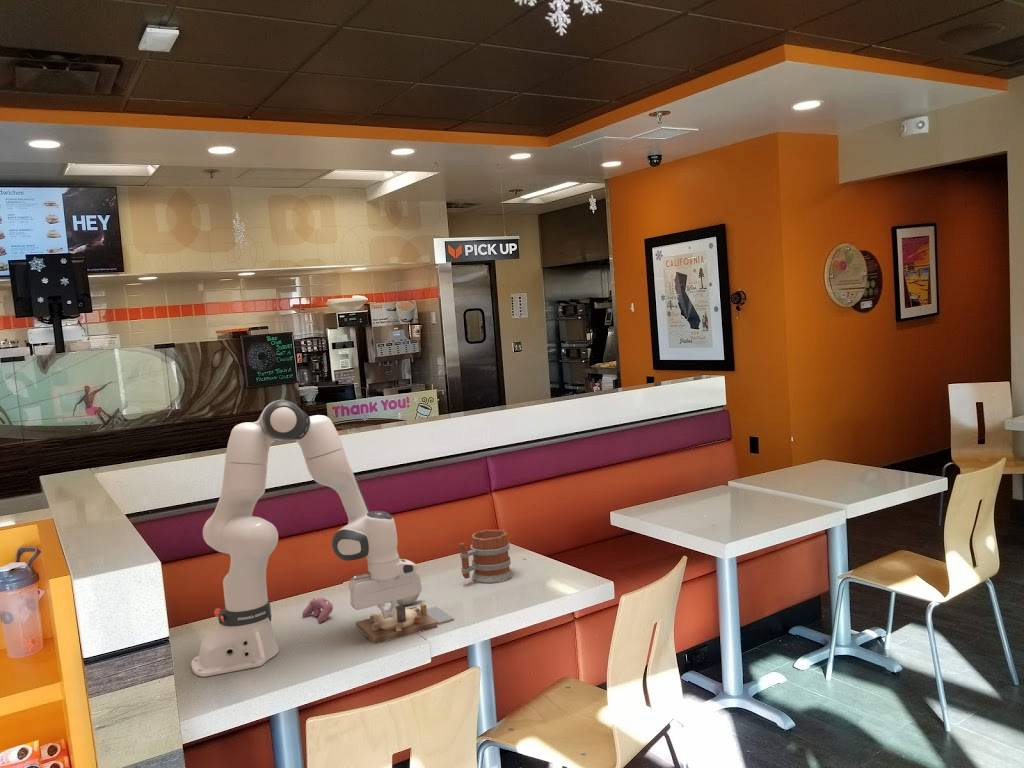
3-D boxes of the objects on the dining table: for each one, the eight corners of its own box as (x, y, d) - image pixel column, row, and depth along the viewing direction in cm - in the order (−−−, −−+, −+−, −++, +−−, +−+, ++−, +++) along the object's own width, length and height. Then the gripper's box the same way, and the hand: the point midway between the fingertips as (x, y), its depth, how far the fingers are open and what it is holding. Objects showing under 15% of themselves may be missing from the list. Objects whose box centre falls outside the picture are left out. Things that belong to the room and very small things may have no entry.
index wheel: (379, 636, 223) (378, 616, 222) (361, 620, 236) (360, 601, 236) (431, 622, 230) (429, 603, 230) (410, 608, 244) (409, 590, 243)
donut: (394, 610, 248) (391, 578, 247) (390, 607, 251) (387, 575, 250) (424, 602, 252) (421, 571, 252) (419, 599, 255) (417, 569, 255)
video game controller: (330, 625, 243) (337, 602, 245) (318, 623, 240) (325, 599, 242) (312, 619, 250) (318, 596, 252) (300, 616, 247) (307, 593, 248)
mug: (521, 575, 272) (518, 532, 271) (476, 590, 260) (472, 545, 259) (495, 568, 283) (492, 526, 282) (451, 582, 271) (447, 538, 270)
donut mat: (438, 624, 233) (438, 622, 233) (421, 612, 244) (421, 610, 244) (454, 620, 235) (454, 618, 235) (436, 608, 247) (436, 606, 246)
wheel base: (374, 643, 222) (373, 628, 221) (356, 626, 236) (354, 611, 235) (437, 627, 231) (436, 611, 231) (416, 611, 245) (415, 597, 245)
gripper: (351, 580, 218) (356, 629, 219) (421, 564, 228) (425, 611, 229) (344, 574, 224) (349, 622, 225) (413, 559, 234) (417, 605, 235)
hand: (388, 617), depth 227 cm, fingers closed
